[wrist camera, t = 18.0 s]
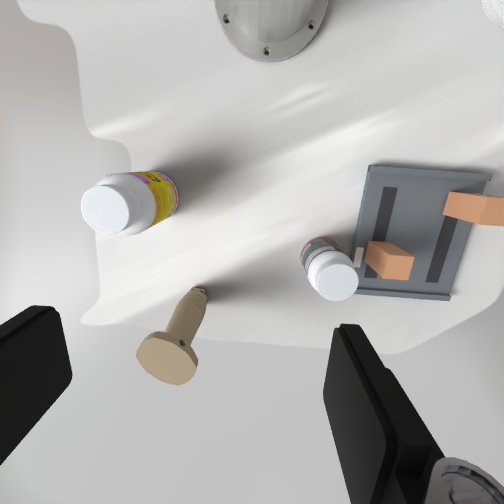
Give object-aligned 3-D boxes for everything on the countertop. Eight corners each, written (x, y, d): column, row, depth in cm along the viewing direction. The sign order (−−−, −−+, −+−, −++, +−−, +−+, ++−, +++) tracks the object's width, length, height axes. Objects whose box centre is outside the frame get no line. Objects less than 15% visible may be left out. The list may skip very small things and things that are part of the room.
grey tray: (368, 165, 35) (373, 165, 34) (482, 173, 35) (492, 174, 34) (344, 288, 41) (347, 293, 39) (442, 296, 41) (449, 301, 39)
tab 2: (449, 191, 35) (487, 197, 29) (472, 193, 35) (515, 199, 29) (442, 214, 36) (478, 224, 30) (464, 216, 36) (505, 226, 30)
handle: (191, 271, 41) (154, 329, 26) (223, 297, 42) (204, 365, 28) (172, 292, 42) (127, 359, 28) (204, 317, 43) (177, 392, 29)
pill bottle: (343, 265, 40) (369, 296, 30) (307, 278, 41) (321, 312, 31) (332, 230, 38) (355, 252, 29) (294, 244, 39) (305, 270, 29)
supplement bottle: (180, 173, 36) (139, 178, 24) (179, 221, 38) (141, 248, 26) (131, 168, 36) (65, 170, 24) (133, 216, 38) (73, 241, 26)
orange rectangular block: (368, 240, 37) (388, 255, 31) (390, 242, 37) (414, 257, 31) (364, 260, 38) (383, 278, 32) (385, 262, 38) (408, 280, 32)
